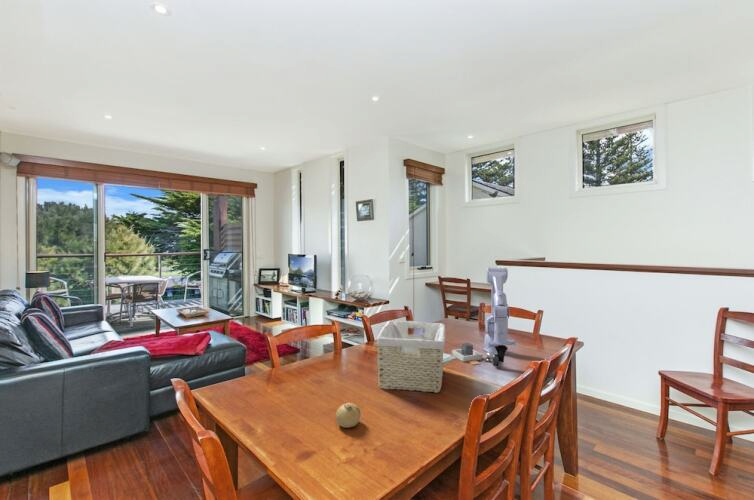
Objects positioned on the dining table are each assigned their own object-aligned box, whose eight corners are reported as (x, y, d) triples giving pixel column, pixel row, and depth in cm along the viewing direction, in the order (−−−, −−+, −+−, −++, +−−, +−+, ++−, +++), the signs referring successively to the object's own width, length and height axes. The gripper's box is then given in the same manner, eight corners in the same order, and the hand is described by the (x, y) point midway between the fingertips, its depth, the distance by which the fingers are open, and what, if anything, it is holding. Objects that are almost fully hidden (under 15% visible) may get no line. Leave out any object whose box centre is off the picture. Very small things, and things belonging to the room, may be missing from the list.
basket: (445, 396, 132) (445, 339, 131) (374, 390, 137) (374, 335, 136) (445, 369, 158) (445, 322, 157) (386, 365, 163) (386, 319, 163)
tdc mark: (468, 361, 168) (468, 361, 168) (475, 361, 169) (475, 360, 169) (473, 364, 164) (473, 364, 164) (480, 363, 165) (480, 363, 165)
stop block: (461, 355, 176) (461, 343, 175) (468, 354, 177) (468, 342, 177) (465, 357, 172) (465, 345, 172) (472, 357, 173) (473, 345, 173)
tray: (452, 354, 178) (452, 349, 178) (470, 352, 181) (470, 347, 181) (463, 361, 168) (463, 356, 168) (482, 359, 171) (482, 354, 171)
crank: (486, 357, 171) (486, 347, 171) (493, 357, 171) (493, 347, 170) (493, 366, 159) (493, 355, 159) (500, 366, 159) (500, 355, 158)
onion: (330, 424, 112) (330, 402, 112) (349, 415, 118) (349, 394, 118) (346, 434, 107) (346, 411, 106) (365, 424, 112) (365, 402, 112)
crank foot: (483, 359, 171) (483, 357, 171) (491, 358, 172) (492, 356, 172) (489, 363, 166) (489, 361, 166) (498, 362, 168) (498, 359, 167)
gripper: (492, 335, 154) (492, 366, 154) (520, 332, 158) (519, 362, 159) (483, 331, 160) (482, 360, 161) (509, 328, 165) (509, 357, 165)
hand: (500, 361), depth 160 cm, fingers closed, pressing on crank
